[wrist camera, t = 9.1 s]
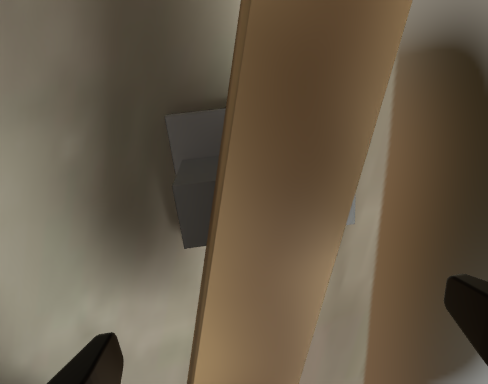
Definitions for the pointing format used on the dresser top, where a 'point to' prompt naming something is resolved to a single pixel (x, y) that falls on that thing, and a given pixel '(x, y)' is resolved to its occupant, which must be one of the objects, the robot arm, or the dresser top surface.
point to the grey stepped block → (198, 170)
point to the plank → (287, 178)
